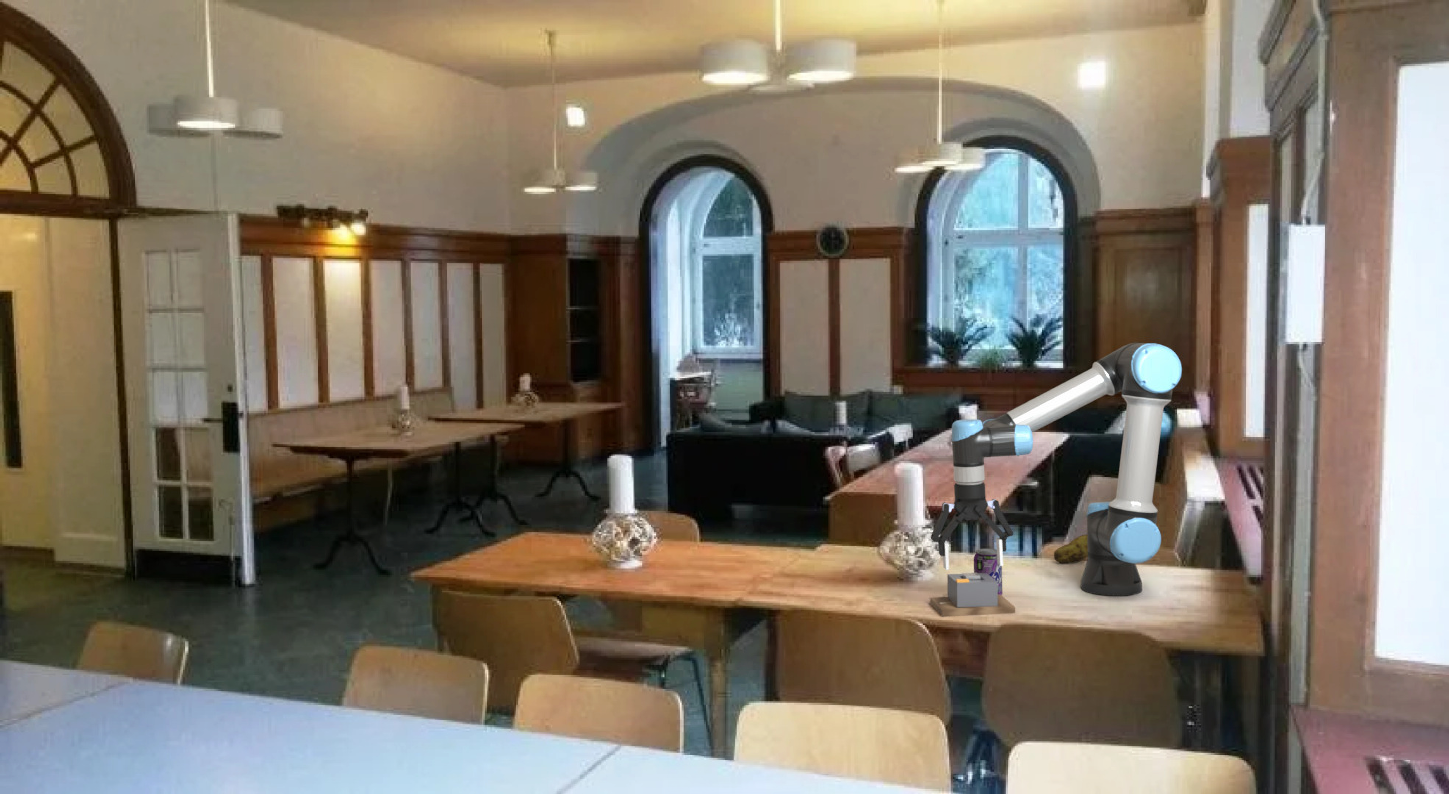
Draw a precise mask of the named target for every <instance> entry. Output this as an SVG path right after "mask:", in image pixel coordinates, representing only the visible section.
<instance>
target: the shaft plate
mask: <svg viewBox="0 0 1449 794" xmlns="http://www.w3.org/2000/svg"><path fill="white" fill-rule="evenodd" d="M929 599H930V605H932V607H933V608H934V609H935V610H936V611H937V613H939V614H940V616H941V617H955V616H957V617H959V616H960V617H961V616H978V615H980V616H981V615H983V616H984V615H1000V614H1002V615H1003V614H1016V605H1014V604H1012V603H1011V602H1010V601H1009V600H1007V598H1005V597H1004V596H1003V594H1002V595H1000V594H998V606H985V607H956V606H955V605H954V603H953V602H952V601H951V600H950V599H949V598H948V596H936V597H935V596H934V597H933V596H932V597H930V598H929Z"/></svg>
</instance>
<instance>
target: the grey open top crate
mask: <svg viewBox="0 0 1449 794" xmlns="http://www.w3.org/2000/svg"><path fill="white" fill-rule="evenodd" d="M978 574H979V575H980V580H972V581H969V579H963V578H962V573H948V574H946V575H947V597H948V598H949V599H950V600H951V601H952V602H953V603H954V605H955V606H956V607H985V606H998V582H997V581H996V580H994V579H993V578H992V577H991V576H989V575H988V574H987V573H978Z"/></svg>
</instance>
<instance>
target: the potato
mask: <svg viewBox="0 0 1449 794" xmlns="http://www.w3.org/2000/svg"><path fill="white" fill-rule="evenodd" d="M1053 558H1054V560H1055V561H1056V562H1057V563H1059V564H1066V563H1067V564H1071V563H1079V562H1081V561H1083V560H1085V559H1086V558H1087V559H1088V543H1087V533H1086V534H1081V535H1080V536H1077V537H1075V538H1074V539H1072V540H1071V541H1070V542H1068V544H1064V545H1062V546H1060V547H1059V548H1057V549H1056V550H1055V551H1054V552H1053Z"/></svg>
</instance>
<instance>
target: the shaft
mask: <svg viewBox="0 0 1449 794" xmlns="http://www.w3.org/2000/svg"><path fill="white" fill-rule="evenodd" d="M961 574H962V578H963V579H969V581H972V580H980V575H979V574H978V573H974V572H962V573H961Z"/></svg>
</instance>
